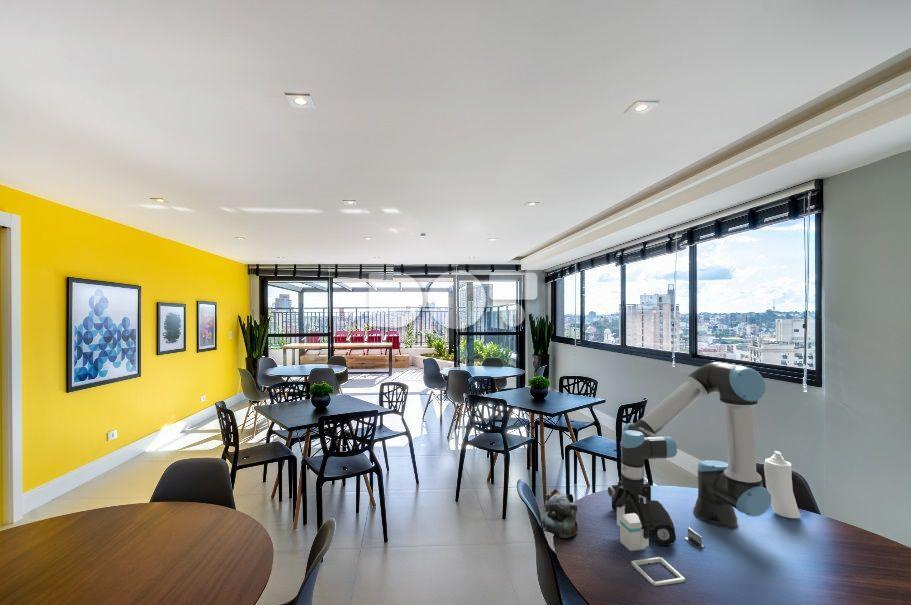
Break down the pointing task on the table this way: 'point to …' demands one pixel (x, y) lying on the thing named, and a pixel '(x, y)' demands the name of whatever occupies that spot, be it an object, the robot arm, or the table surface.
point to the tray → (660, 559)
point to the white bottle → (780, 486)
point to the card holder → (694, 539)
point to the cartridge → (630, 531)
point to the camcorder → (628, 505)
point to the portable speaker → (661, 524)
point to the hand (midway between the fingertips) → (631, 535)
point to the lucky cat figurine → (560, 515)
